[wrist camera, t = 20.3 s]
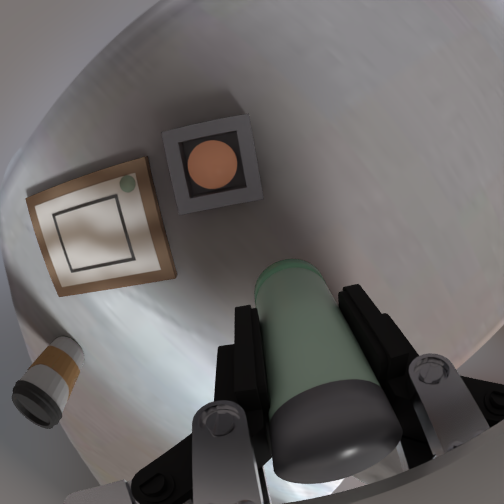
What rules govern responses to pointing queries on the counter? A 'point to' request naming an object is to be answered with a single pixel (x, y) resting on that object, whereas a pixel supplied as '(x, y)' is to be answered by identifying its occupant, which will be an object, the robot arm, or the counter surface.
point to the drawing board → (103, 230)
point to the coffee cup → (49, 382)
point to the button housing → (242, 184)
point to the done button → (212, 164)
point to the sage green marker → (318, 381)
